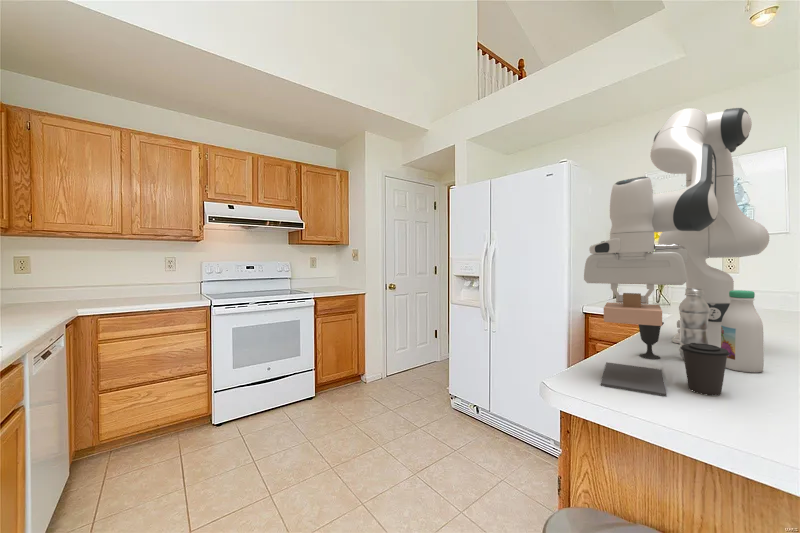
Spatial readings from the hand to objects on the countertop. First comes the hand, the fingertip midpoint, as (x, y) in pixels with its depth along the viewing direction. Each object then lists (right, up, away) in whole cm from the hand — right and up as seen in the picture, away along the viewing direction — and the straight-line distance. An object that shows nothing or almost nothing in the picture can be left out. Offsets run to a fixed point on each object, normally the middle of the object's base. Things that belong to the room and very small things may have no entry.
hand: (631, 303), depth 82 cm
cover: (0, -2, 0) cm, 2 cm away
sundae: (+17, -18, +17) cm, 30 cm away
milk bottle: (+32, -18, +5) cm, 37 cm away
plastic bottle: (+26, -18, +12) cm, 33 cm away
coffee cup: (+11, -19, -8) cm, 23 cm away
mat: (0, -18, +1) cm, 18 cm away
